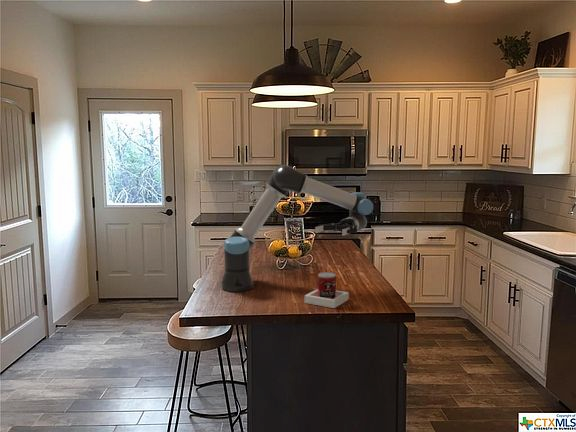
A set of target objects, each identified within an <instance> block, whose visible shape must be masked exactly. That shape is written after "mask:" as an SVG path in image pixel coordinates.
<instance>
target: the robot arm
mask: <svg viewBox="0 0 576 432" xmlns="http://www.w3.org/2000/svg"><path fill="white" fill-rule="evenodd" d="M265 185H266V188H265V190H264V192H263V194H262V195H261V197H260V198H259V199H258V201H257V202H256V204H255V205H254V207H253V208H252V210H251V212H250V213H249V214H248V216H247V218H245V220H244V221H243V223H242V225H241V226H240V227H239V228H235V229H234V231H233V233H232V234H231V235H230V237H228V238H226V239H225V240H224V243H223V248H224V249H223V250H224V273H223V277H222V280H221V284H220V285H221V287H220V288H221V289H222V290H223V291H227V292H246V291H249V290H252V289H254V281H253V278H252V275H251V274H252V273H251V272H250V250H251V249H252V248H253V247H254V244H255V243H256V239H255V237H256V236H257V234H258V233H259V231H260V230H261V228H262V227H263V226H264V224H265V223H266V221H267V219H268V218H269V217H270V215H271V214H272V213H273V211H274V209H275V208H276V206H277V205H278V203H279V202H280V201H281V199H282V198H285V197H287V196H288V194H289V192H293V193H295V194H296V193H297V194H299V195H301V194H306V195H308V196H311V197H315V198H316V199H318V200H319V199H320V200H322V201H325V202H327V203H330V204H333V205H336V206H339V207H341V208H344V209H347V210H349V215H348V217H346V218H343V219H341V220H340V221H339V222H338V223H337V222H336V223H334V222H331V223H324V224H317V226H315V228H314V230H315V231H314V232H315V234H319V233H323V232H324V231H334V232H341V233H342V234H341V236H343V237H344V236H347V235H351V234H353V233H354V234H355V235H356V234H358V231H362V230H363V229H364V228H366V227H367V224H368V220H367V218H366V216H367V215H371V213H372V212H373V210H374V203H373V202H372V201H371V200H370V199H368V198H366V195H365V193H364V192H359V191H358V192H355V191H354V192H349V191H347V190H346V191H345V190H343V189H341V188H338V187H335V186H332V185H329V184H327V183H325V182H324V183H323V182H321V181H319V180H316V179H313V178H311V177H309V176H308V175H307V173H306V174H305V173H304V172H301V171H299V170H297V169H296V168H294V167H292V166H290V165H286V164H281V165H279V166H277V167H276V168H275V169H274V170H273V171H272V174H271V176H270V177H269V179H268V180H267V182H266V184H265Z"/></svg>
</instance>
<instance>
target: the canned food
mask: <svg viewBox="0 0 576 432" xmlns="http://www.w3.org/2000/svg"><path fill="white" fill-rule="evenodd" d="M317 289H318V297H322V298H328V299H334V298H336V290H337V275H336V273H335V272H330V271H329V272H328V271H327V272H326V271H325V272H319V273H318V276H317Z"/></svg>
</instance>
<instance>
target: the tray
mask: <svg viewBox="0 0 576 432" xmlns="http://www.w3.org/2000/svg"><path fill="white" fill-rule="evenodd" d="M349 295H350V294H349V292H348V291H344V290H343V291H342V290H338V289H336V298H334V299H328V298H322V297H318V288H317V289H314V290H313V291H311V292H309V293H307V294H305V295H304V304H309V305H314V306H319V307H325V308H331V309H335V308H338V307H339V306H341V305H343V304H344V303H346V302H347V301H348V300H349Z"/></svg>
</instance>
